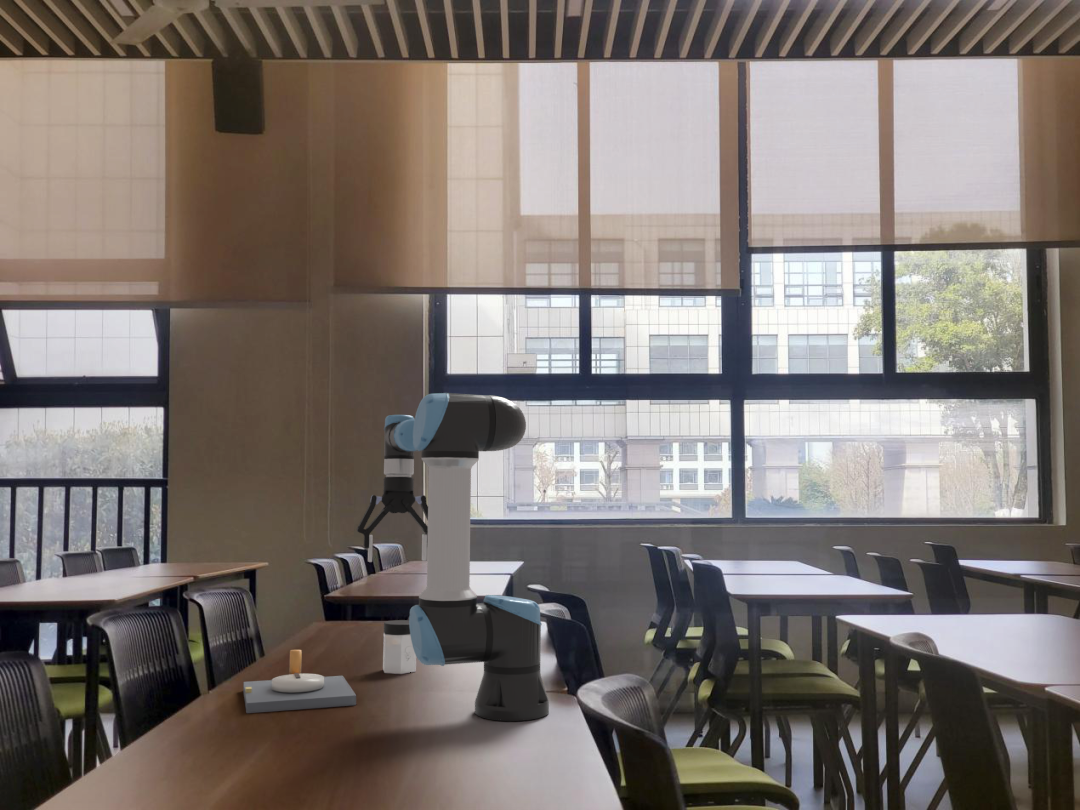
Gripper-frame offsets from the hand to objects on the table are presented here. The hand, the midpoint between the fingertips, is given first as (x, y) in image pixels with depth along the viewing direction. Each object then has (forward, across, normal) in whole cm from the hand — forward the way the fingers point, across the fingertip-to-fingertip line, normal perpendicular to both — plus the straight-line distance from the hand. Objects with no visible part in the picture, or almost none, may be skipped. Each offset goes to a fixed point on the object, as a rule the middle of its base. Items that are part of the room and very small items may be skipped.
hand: (397, 561), depth 228 cm
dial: (+25, +25, +19) cm, 40 cm away
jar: (+28, -1, -3) cm, 28 cm away
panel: (+27, +24, +21) cm, 42 cm away
